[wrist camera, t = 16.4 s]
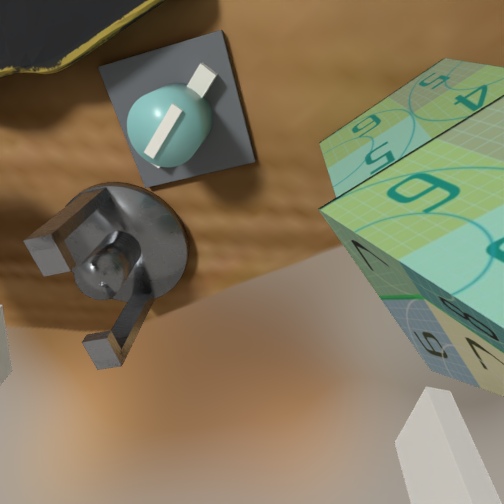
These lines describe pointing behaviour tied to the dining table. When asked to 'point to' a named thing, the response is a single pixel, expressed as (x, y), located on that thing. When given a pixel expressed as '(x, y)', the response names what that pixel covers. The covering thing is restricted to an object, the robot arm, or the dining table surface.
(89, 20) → the mask
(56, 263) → the grey metal piece
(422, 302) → the printed tall block
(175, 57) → the coaster
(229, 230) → the dining table surface
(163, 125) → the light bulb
